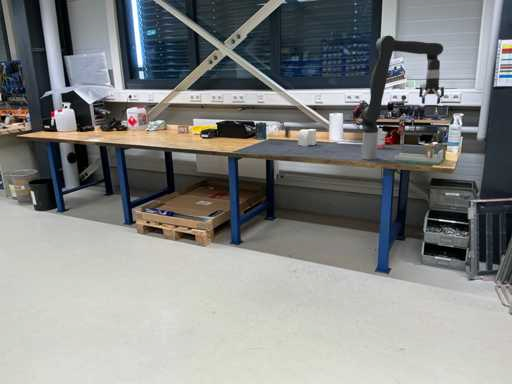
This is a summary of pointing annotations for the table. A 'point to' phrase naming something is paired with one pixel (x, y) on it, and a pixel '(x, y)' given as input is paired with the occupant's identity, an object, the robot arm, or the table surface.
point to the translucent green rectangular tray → (420, 155)
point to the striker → (437, 143)
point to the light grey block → (307, 137)
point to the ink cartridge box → (381, 139)
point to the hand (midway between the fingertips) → (430, 104)
